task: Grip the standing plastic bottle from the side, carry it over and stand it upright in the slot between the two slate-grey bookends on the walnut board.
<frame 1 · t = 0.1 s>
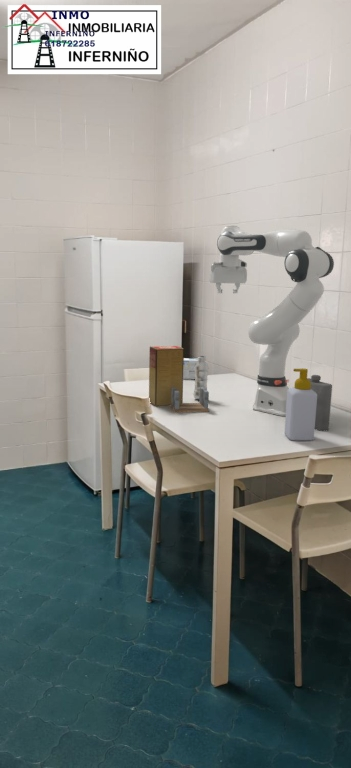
hand: (227, 293, 264), 48 cm above the table, tool pointing down, fingers open, 8 cm apart
bookend shelf: (189, 409, 243), on the table
plastic bottle: (200, 400, 261), on the table
soap bottle: (298, 438, 206), on the table
flask: (312, 426, 222), on the table
food packaging: (165, 403, 253), on the table
light bulb box: (189, 378, 311), on the table
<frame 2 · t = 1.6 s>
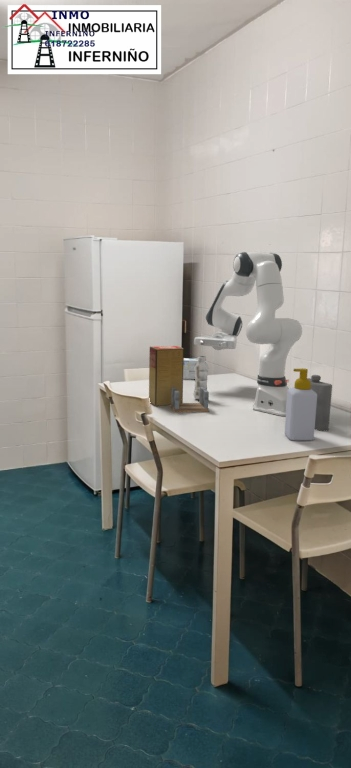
hand: (210, 344, 267), 24 cm above the table, tool horizontal, fingers open, 8 cm apart
nothing on the table moved.
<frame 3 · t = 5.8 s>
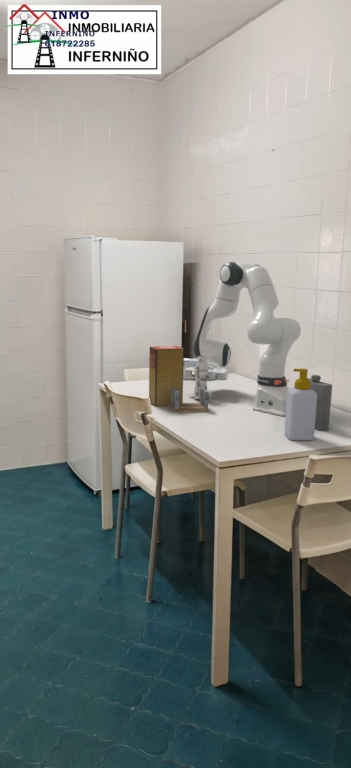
hand: (200, 376, 258), 11 cm above the table, tool horizontal, fingers closed on plastic bottle, 6 cm apart
plastic bottle: (200, 400, 261), on the table, touching gripper
everything else where it was.
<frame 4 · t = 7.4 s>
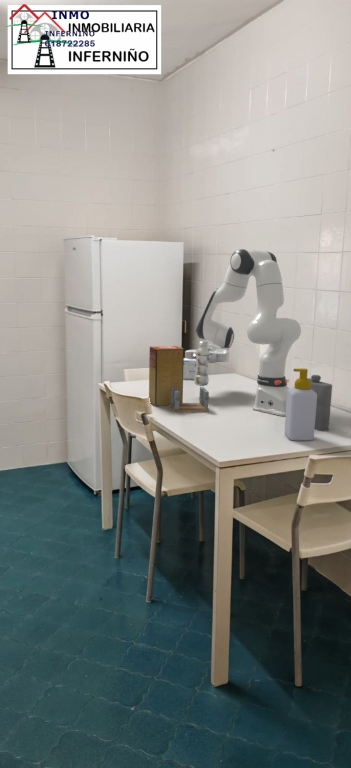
hand: (201, 357, 256), 20 cm above the table, tool horizontal, fingers closed on plastic bottle, 6 cm apart
plastic bottle: (201, 386, 258), point 7 cm above the table, touching gripper
everything else where it was.
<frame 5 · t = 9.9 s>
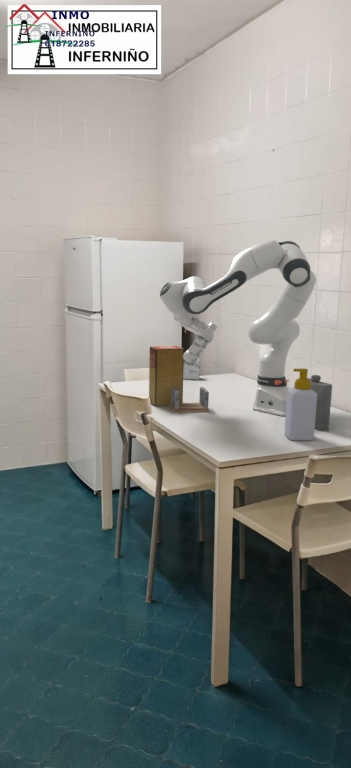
hand: (205, 339, 240), 30 cm above the table, tool tilted 45°, fingers closed on plastic bottle, 6 cm apart
plastic bottle: (186, 363, 239), point 19 cm above the table, touching gripper
everything else where it was.
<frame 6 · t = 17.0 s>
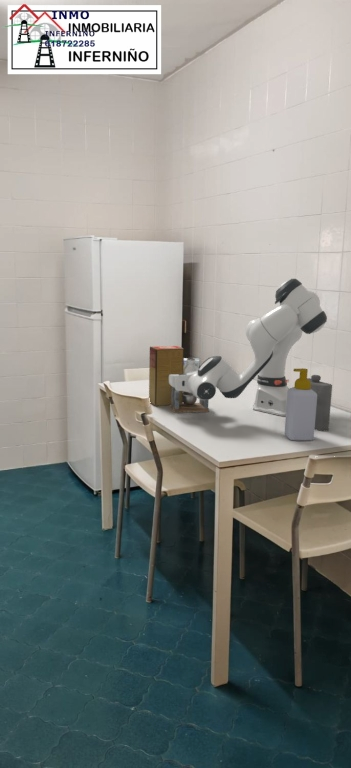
hand: (190, 376, 241), 14 cm above the table, tool horizontal, fingers closed on plastic bottle, 6 cm apart
plastic bottle: (188, 404, 245), point 2 cm above the table, touching bookend shelf, gripper
everything else where it was.
when the fingers open (14 cm above the table, at t = 17.6 s): plastic bottle stays where it is, resting on bookend shelf.
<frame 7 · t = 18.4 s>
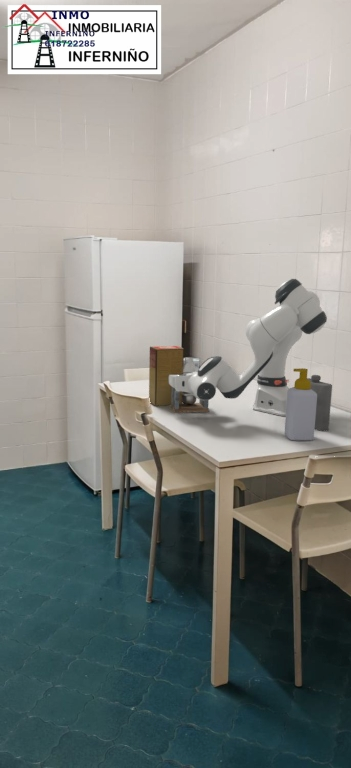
hand: (189, 376, 241), 14 cm above the table, tool horizontal, fingers open, 8 cm apart
plastic bottle: (188, 404, 245), point 1 cm above the table, touching bookend shelf
everything else where it was.
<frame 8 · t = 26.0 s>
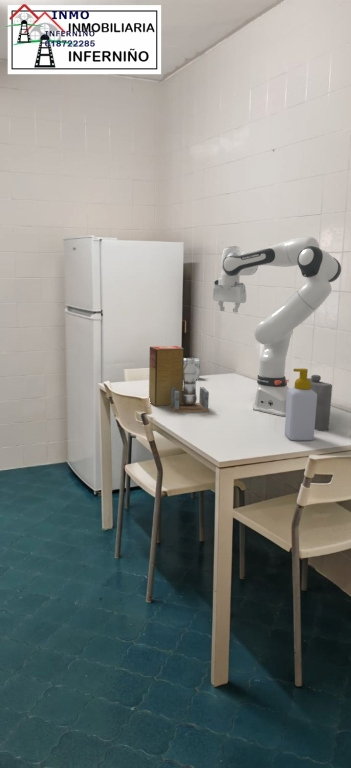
hand: (228, 311, 271), 39 cm above the table, tool pointing down, fingers open, 8 cm apart
at the end: plastic bottle 2.2 cm off-centre on the bookend shelf, point 1.3 cm above the bookend shelf's base; plastic bottle tilted 0°; the gripper is holding nothing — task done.
